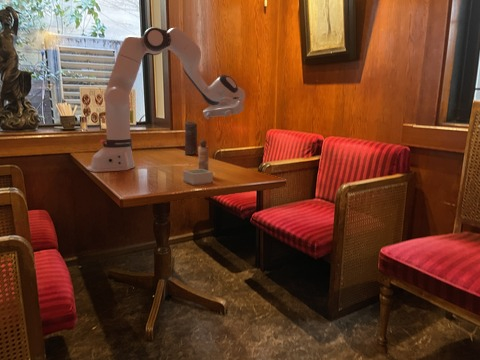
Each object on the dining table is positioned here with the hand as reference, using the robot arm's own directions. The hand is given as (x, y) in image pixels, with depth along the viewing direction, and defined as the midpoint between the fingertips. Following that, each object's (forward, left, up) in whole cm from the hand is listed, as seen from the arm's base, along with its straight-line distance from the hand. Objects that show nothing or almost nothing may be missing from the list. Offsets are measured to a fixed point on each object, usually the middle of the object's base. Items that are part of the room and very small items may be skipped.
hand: (215, 116), depth 175 cm
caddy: (-20, -18, -26) cm, 38 cm away
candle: (+13, +51, -26) cm, 58 cm away
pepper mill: (-11, -7, -26) cm, 29 cm away
